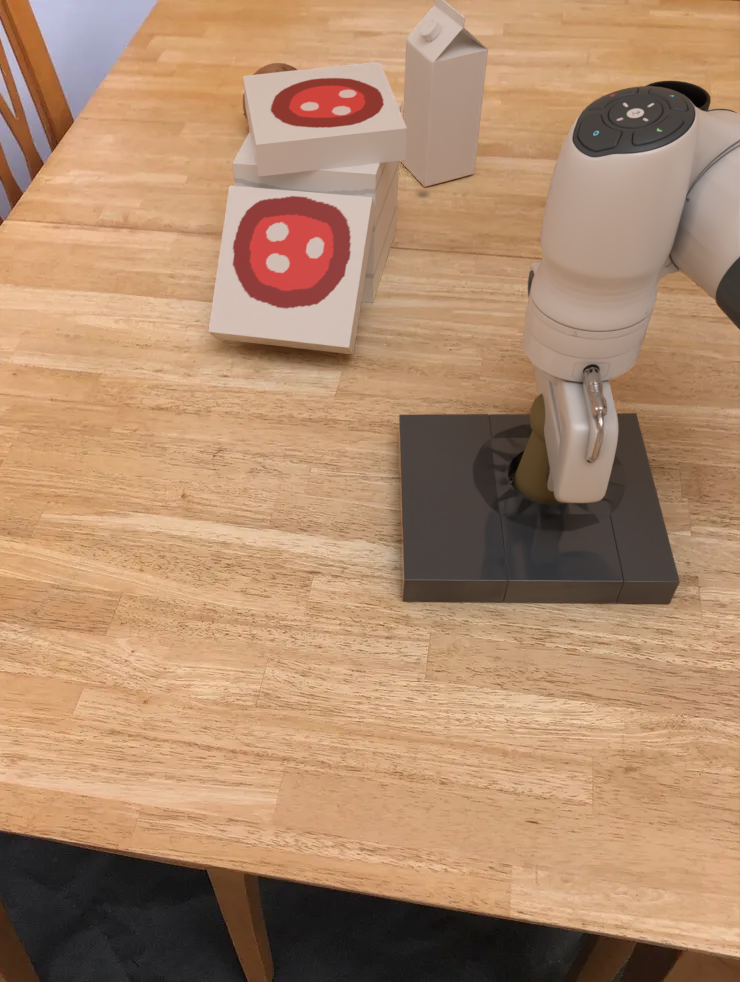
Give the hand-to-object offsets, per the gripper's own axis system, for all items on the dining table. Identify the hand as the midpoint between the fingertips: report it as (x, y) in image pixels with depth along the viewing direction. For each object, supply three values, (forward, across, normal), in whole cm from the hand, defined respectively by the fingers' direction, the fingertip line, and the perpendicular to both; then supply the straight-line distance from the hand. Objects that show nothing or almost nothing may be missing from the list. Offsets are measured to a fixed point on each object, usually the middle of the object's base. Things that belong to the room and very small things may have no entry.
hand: (552, 460), depth 80 cm
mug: (+5, +56, -18) cm, 59 cm away
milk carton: (+5, +58, +7) cm, 59 cm away
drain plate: (+5, -2, +2) cm, 5 cm away
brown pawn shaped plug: (+4, 0, 0) cm, 4 cm away
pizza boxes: (+5, +33, +22) cm, 40 cm away
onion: (+5, +68, +28) cm, 74 cm away
